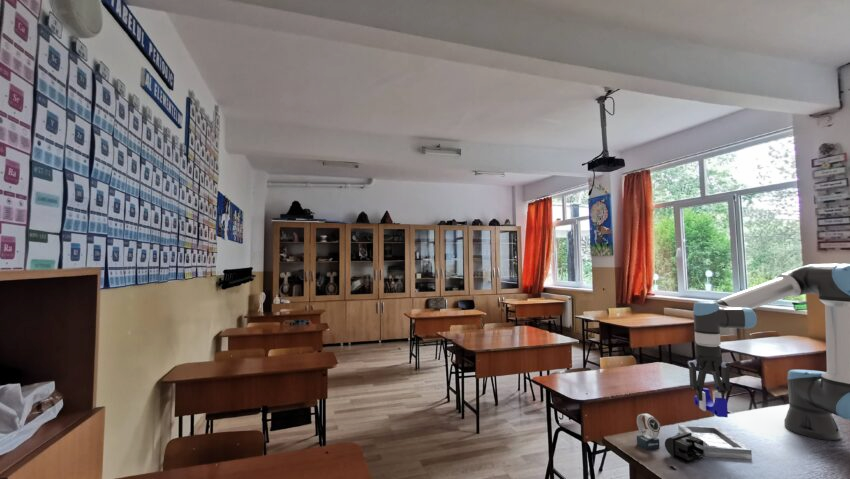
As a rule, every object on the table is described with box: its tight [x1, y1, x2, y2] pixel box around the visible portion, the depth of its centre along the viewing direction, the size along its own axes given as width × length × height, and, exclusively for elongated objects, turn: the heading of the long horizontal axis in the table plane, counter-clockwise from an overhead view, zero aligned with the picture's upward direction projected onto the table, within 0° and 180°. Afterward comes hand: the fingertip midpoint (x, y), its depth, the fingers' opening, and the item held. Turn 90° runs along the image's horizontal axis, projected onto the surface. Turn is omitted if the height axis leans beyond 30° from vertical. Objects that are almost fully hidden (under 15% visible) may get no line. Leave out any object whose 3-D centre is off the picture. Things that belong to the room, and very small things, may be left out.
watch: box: [636, 412, 661, 451], centre depth 137 cm, size 6×8×11 cm
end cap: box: [664, 432, 705, 465], centre depth 129 cm, size 10×7×7 cm
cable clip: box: [693, 387, 729, 418], centre depth 138 cm, size 12×4×6 cm, turn 171°
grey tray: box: [677, 424, 753, 460], centre depth 137 cm, size 14×18×3 cm
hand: (710, 409), depth 138 cm, fingers closed on cable clip, 4 cm apart
